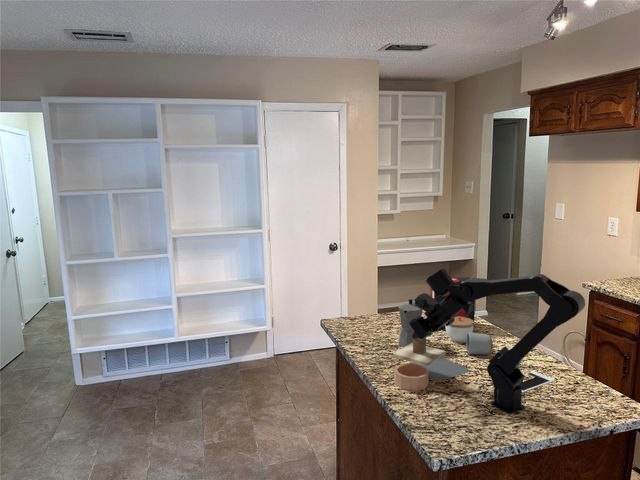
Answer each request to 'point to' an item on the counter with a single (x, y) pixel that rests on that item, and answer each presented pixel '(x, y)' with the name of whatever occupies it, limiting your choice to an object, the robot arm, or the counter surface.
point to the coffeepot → (407, 322)
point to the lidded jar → (460, 329)
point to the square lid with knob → (419, 352)
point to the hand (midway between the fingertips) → (415, 335)
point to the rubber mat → (444, 369)
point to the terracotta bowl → (411, 377)
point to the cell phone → (535, 381)
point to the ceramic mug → (478, 344)
